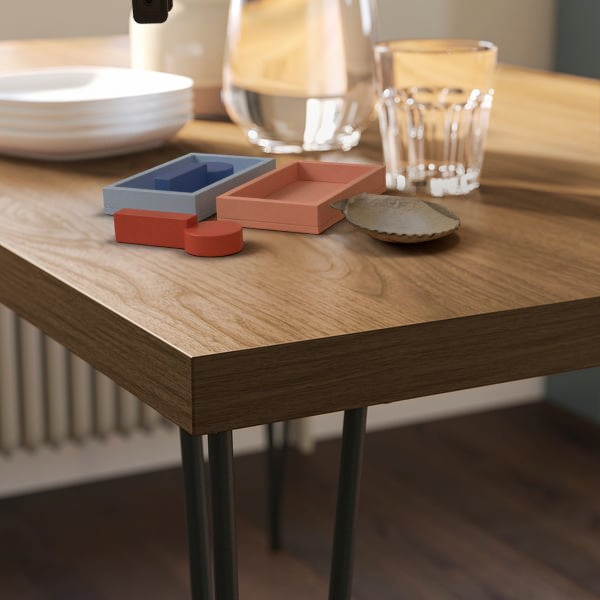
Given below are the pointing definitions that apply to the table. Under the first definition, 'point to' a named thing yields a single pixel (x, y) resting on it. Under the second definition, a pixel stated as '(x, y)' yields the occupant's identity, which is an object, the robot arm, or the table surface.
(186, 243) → the spoon red
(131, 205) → the tray blue
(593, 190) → the table surface
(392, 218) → the seashell
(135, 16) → the robot arm
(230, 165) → the spoon blue
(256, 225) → the tray red
